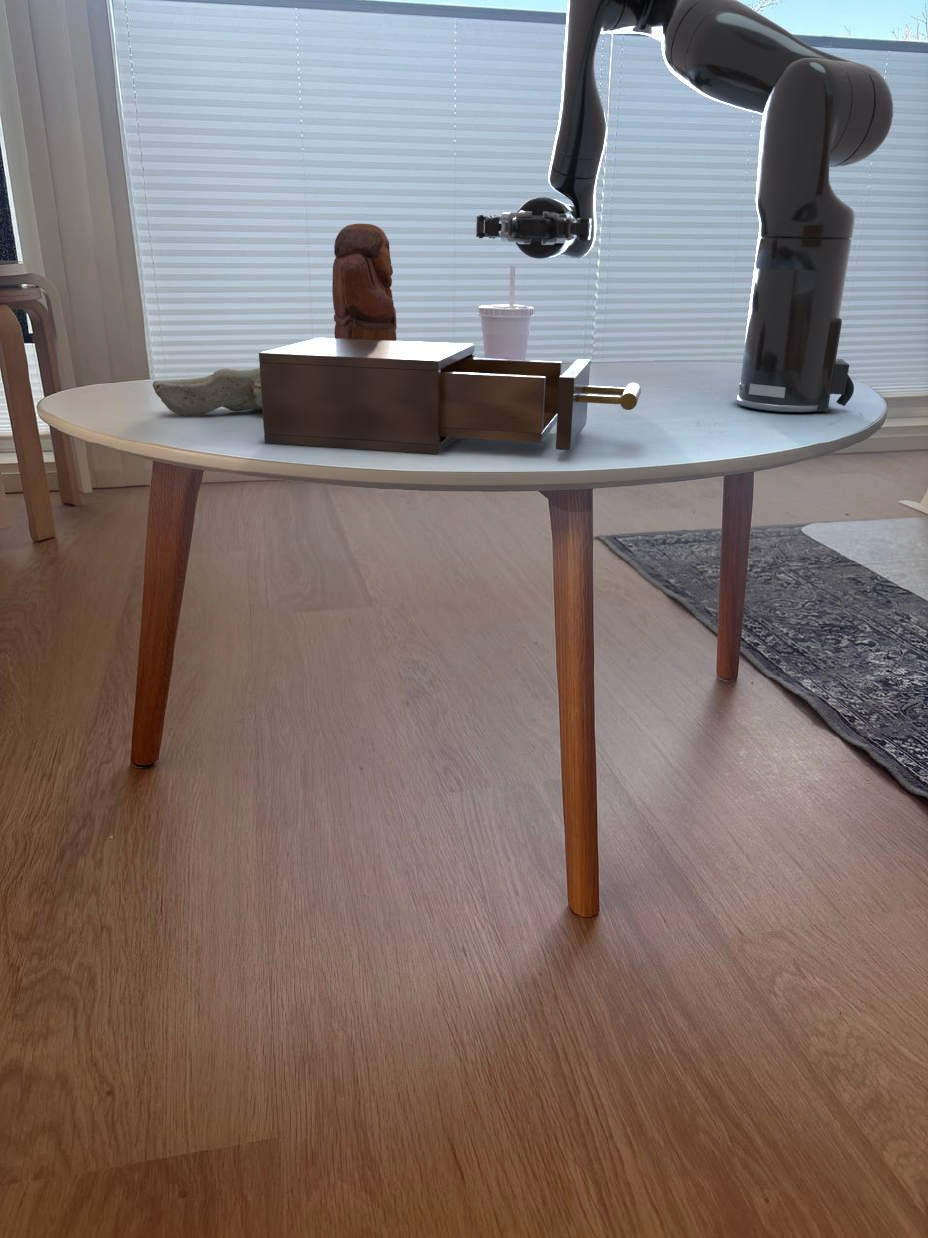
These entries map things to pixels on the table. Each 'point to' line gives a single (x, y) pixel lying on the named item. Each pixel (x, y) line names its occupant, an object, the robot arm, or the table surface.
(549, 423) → the drawer
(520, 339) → the smoothie
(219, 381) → the sculpture
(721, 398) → the table surface
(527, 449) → the table surface
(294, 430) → the cabinet
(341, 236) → the wooden figurine
